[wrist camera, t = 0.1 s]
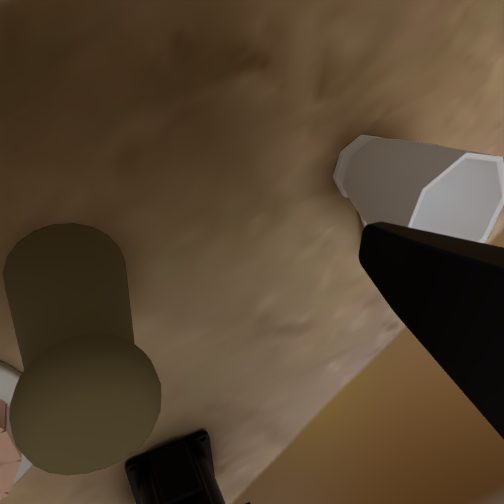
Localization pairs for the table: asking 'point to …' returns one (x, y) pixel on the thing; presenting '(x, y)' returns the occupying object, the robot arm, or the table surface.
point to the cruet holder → (9, 434)
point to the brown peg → (76, 353)
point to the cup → (422, 186)
